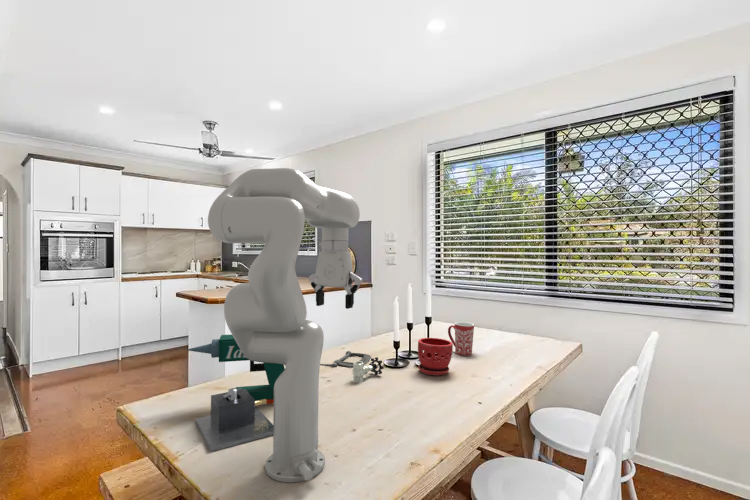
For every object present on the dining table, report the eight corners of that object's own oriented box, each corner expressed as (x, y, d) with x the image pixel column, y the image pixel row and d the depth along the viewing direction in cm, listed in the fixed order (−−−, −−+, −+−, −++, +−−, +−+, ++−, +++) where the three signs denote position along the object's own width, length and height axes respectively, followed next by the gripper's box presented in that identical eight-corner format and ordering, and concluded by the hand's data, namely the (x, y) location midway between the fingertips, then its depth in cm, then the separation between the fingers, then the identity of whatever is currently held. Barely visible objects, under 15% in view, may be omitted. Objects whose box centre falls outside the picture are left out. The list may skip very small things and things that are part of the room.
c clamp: (355, 372, 150) (355, 365, 150) (316, 366, 157) (317, 359, 157) (376, 358, 168) (376, 352, 168) (341, 353, 175) (341, 347, 175)
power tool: (181, 412, 111) (181, 342, 111) (186, 402, 118) (186, 336, 117) (295, 402, 119) (296, 336, 119) (294, 393, 126) (295, 331, 126)
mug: (478, 353, 177) (478, 323, 176) (467, 357, 170) (467, 326, 170) (454, 348, 185) (454, 319, 185) (443, 351, 179) (443, 322, 179)
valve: (360, 384, 135) (383, 376, 144) (360, 365, 135) (383, 358, 144) (347, 380, 140) (370, 372, 148) (347, 361, 139) (370, 355, 148)
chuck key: (226, 424, 101) (227, 394, 101) (220, 423, 102) (220, 392, 102) (243, 415, 107) (244, 386, 107) (237, 414, 108) (238, 385, 108)
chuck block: (281, 432, 99) (281, 405, 99) (210, 451, 90) (210, 421, 90) (258, 408, 114) (258, 384, 114) (195, 422, 105) (195, 396, 105)
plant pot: (437, 380, 141) (437, 347, 140) (410, 371, 150) (410, 340, 150) (459, 372, 149) (459, 341, 149) (432, 364, 159) (433, 335, 159)
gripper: (302, 246, 112) (301, 306, 112) (355, 247, 105) (354, 311, 105) (317, 246, 119) (316, 302, 119) (368, 247, 112) (367, 307, 112)
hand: (334, 306), depth 112 cm, fingers open, 9 cm apart
